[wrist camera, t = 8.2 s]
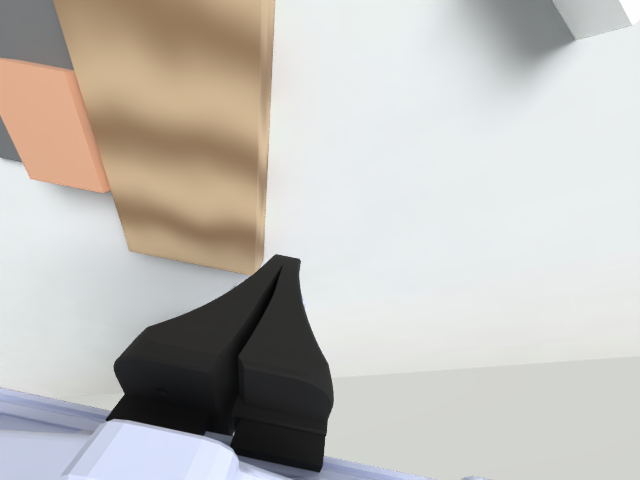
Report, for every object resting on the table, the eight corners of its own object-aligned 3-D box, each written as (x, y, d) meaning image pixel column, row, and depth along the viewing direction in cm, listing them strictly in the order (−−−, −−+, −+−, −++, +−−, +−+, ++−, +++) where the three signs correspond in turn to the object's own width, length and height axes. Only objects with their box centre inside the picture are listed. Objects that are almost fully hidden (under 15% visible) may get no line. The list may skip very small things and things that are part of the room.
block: (128, 183, 21) (103, 193, 19) (62, 170, 21) (30, 178, 19) (100, 75, 17) (63, 71, 15) (18, 59, 17) (-29, 54, 15)
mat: (131, 180, 22) (127, 182, 21) (3, 155, 22) (-4, 156, 21) (74, -47, 14) (65, -52, 14) (-117, -82, 15) (-132, -87, 14)
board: (263, 260, 24) (254, 276, 22) (148, 237, 25) (129, 251, 22) (275, -11, 14) (262, -31, 12) (79, -47, 14) (31, -72, 12)
